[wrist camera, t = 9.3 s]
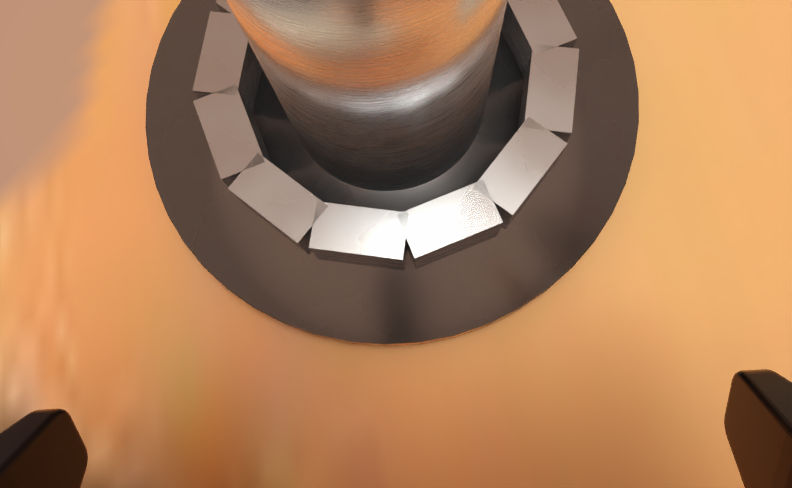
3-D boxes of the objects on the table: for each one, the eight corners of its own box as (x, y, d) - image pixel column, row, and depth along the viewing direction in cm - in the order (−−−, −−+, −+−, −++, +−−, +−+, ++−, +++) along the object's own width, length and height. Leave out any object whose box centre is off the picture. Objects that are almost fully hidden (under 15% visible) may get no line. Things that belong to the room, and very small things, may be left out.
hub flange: (434, 454, 17) (435, 465, 15) (62, 150, 19) (13, 120, 17) (724, 62, 19) (764, 18, 17) (353, -169, 21) (345, -235, 19)
